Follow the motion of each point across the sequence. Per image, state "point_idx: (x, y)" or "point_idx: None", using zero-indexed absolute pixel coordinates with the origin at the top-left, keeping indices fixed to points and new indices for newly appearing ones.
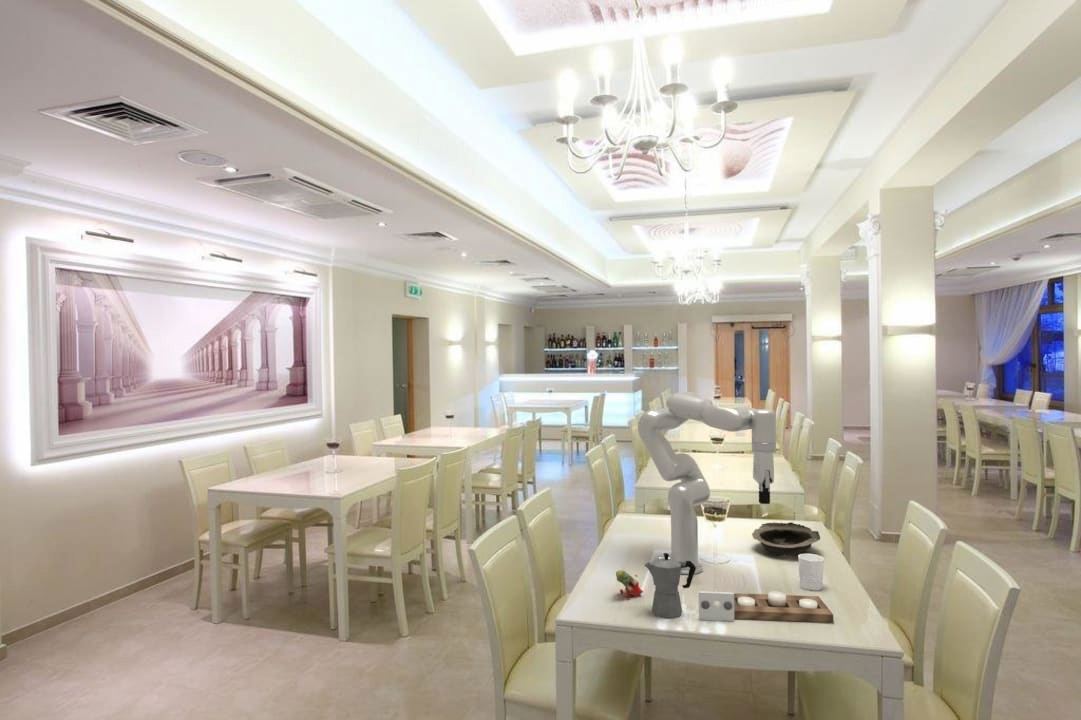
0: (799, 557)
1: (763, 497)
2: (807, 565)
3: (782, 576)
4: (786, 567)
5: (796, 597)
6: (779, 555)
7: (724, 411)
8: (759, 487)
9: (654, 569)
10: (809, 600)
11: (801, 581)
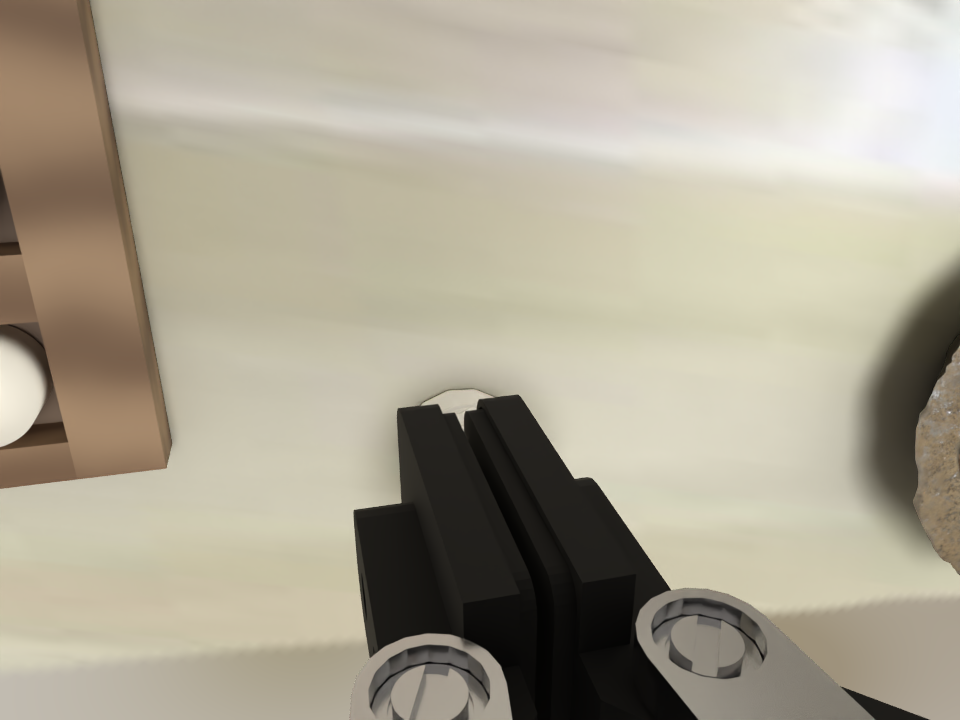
0: None
1: (364, 578)
2: None
3: (623, 311)
4: (772, 356)
5: (99, 337)
6: (951, 346)
7: None
8: (695, 678)
9: None
10: (5, 410)
11: (449, 407)
